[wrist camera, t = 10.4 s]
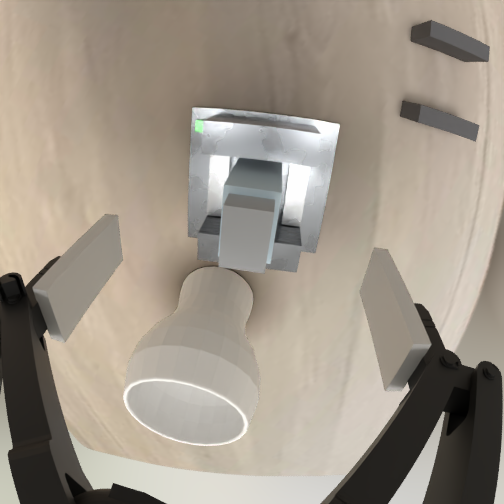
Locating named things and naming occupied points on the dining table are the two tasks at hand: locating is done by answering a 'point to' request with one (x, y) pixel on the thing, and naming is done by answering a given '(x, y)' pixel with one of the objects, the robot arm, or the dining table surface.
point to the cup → (198, 364)
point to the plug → (250, 215)
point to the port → (269, 149)
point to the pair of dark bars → (456, 47)
